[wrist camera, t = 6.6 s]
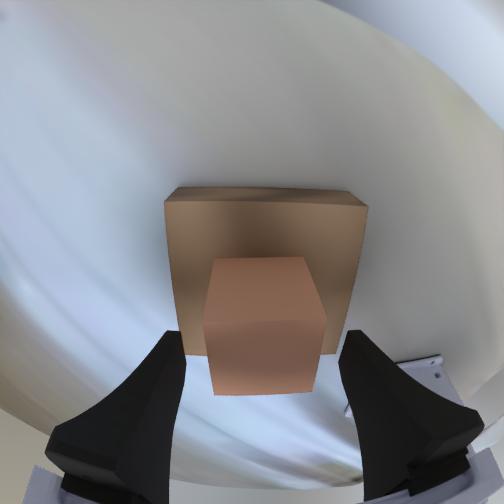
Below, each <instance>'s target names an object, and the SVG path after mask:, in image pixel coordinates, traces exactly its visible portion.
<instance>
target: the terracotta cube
mask: <svg viewBox="0 0 504 504" xmlns="http://www.w3.org/2000/svg"><path fill="white" fill-rule="evenodd" d="M326 323H327V316H326V313H325V310H324V308H323V305H322V302H321V300H320V297H319V295H318V292H317V290H316V287H315V284H314V282H313V279H312V277H311V274H310V272H309V269H308V267H307V264H306V262H305V259H304V257H266V258H214V263H213V268H212V273H211V278H210V283H209V288H208V293H207V298H206V303H205V309H204V314H203V319H202V325H203V331H204V338H205V345H206V351H207V357H208V363H209V369H210V375H211V380H212V386H213V391H214V395H273V394H290V393H302V392H312V390H313V386H314V381H315V377H316V372H317V368H318V363H319V359H320V354H321V349H322V344H323V339H324V334H325V328H326Z"/></svg>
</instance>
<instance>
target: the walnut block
mask: <svg viewBox="0 0 504 504" xmlns="http://www.w3.org/2000/svg"><path fill="white" fill-rule="evenodd" d="M164 210H165V222H166V233H167V244H168V253H169V262H170V270H171V278H172V286H173V293H174V300H175V307H176V314H177V320H178V326H179V331H181V335H182V341H183V347H184V352H185V355H197V356H207V351H206V345H205V338H204V331H203V325H202V319H203V314H204V309H205V303H206V298H207V293H208V288H209V283H210V278H211V273H212V268H213V263H214V258H266V257H304V259H305V262H306V264H307V267H308V269H309V272H310V274H311V277H312V279H313V282H314V284H315V287H316V290H317V292H318V295H319V297H320V300H321V302H322V305H323V308H324V310H325V313H326V316H327V323H326V328H325V334H324V339H323V344H322V349H321V354H320V355H326V354H336V351H337V348H338V344H339V341H340V337H341V334H342V330H343V326H344V323H345V319H346V315H347V311H348V307H349V303H350V299H351V295H352V291H353V286H354V282H355V277H356V273H357V268H358V263H359V258H360V253H361V248H362V243H363V237H364V232H365V226H366V220H367V213H368V206H367V205H366V204H364V203H363V202H362V201H360V200H359V199H358V198H356V197H355V196H354V195H352V194H351V193H350V192H344V191H329V190H312V189H291V188H260V187H180V188H177V189H176V190H175V191H174V192H173V193H172V194H171V195H170V196H169V197H168V198H167V199H166V200H165V201H164Z"/></svg>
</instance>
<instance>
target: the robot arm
mask: <svg viewBox="0 0 504 504" xmlns="http://www.w3.org/2000/svg"><path fill="white" fill-rule="evenodd" d="M442 361H443V357H442V356H436V357H431V358H427V359H422V360H417V361H411V362H406V363H400V364H395V363H394V362H393V361H392V360H391V359H390V358H389V357H388V356H387V355H386V354H385V353H384V352H383V351H381V350H380V349H379V348H378V347H377V346H376V345H375V344H374V343H373V342H372V341H371V340H370V339H369V338H368V337H367V336H366V335H365V334H364V333H363V332H362V331H361V330H349V331H348V332H347V335H346V339H345V342H344V345H343V349H342V352H341V355H340V358H339V361H338V364H339V369H340V375H341V380H342V383H343V387H344V390H345V393H346V396H347V399H348V402H349V406H348V408H347V410H346V412H345V416H346V417H354V420H355V423H356V427H357V432H358V438H359V443H360V450H361V457H362V467H363V479H364V499H363V502H362V503H358V504H486V503H487V501H488V497H490V496H491V495H493V494H494V493H496V492H497V491H498V490H500V489H501V488H502V487H504V480H503V477H502V475H501V472H500V470H499V468H498V465H497V463H496V461H495V459H494V456H493V454H492V452H491V450H490V448H486V449H484V450H483V451H481V452H479V453H477V454H475V451H474V449H473V447H472V445H471V442H472V441H473V440H474V439H475V438H476V437H477V436H478V435H479V434H480V433H481V432H482V431H483V429H484V426H485V425H484V423H483V421H482V419H481V417H480V415H479V413H478V412H477V411H476V410H473V409H470V408H468V407H464V405H463V402H462V400H461V399H460V397H459V395H458V393H457V392H456V390H455V388H454V386H453V385H452V383H451V381H450V380H449V378H448V376H447V375H446V373H445V371H444V370H443V368H442V366H441V365H440V364H441V362H442ZM186 364H187V363H186V358H185V352H184V347H183V341H182V335H181V331H169V330H167V331H166V332H165V333H164V334H163V336H162V337H161V339H160V340H159V341H158V343H157V344H156V345H155V346H154V348H153V349H152V350H151V352H150V353H149V354H148V355H147V356H146V358H145V359H144V360H143V361H142V362H141V364H140V365H139V366H138V367H137V368H136V369H135V370H134V371H133V372H132V373H131V375H130V376H129V377H128V378H127V379H126V380H125V381H124V382H123V383H122V384H120V385H119V386H118V387H117V388H116V389H115V390H114V391H113V392H111V393H110V394H109V395H108V396H106V397H105V398H104V399H103V400H101V401H100V402H99V403H97V404H96V405H94V406H93V407H91V408H90V409H88V410H86V411H85V412H83V413H82V414H80V415H78V416H76V417H75V418H73V419H71V420H68V421H66V422H64V423H62V424H60V425H58V426H55V428H54V430H53V432H52V434H51V436H50V439H49V442H48V444H47V447H46V450H45V455H46V456H47V458H48V459H49V460H50V461H52V462H53V463H54V464H55V465H56V466H57V467H58V468H60V469H61V470H62V471H63V472H65V474H64V477H63V478H62V477H60V476H58V475H57V474H55V473H52V472H50V471H48V470H46V469H44V468H41V467H39V466H37V465H35V466H34V469H33V472H32V475H31V477H30V480H29V484H28V486H27V490H26V493H25V496H24V499H23V503H22V504H169V475H170V458H171V447H172V437H173V430H174V424H175V420H176V416H177V412H178V407H179V403H180V399H181V395H182V391H183V387H184V381H185V373H186Z"/></svg>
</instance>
